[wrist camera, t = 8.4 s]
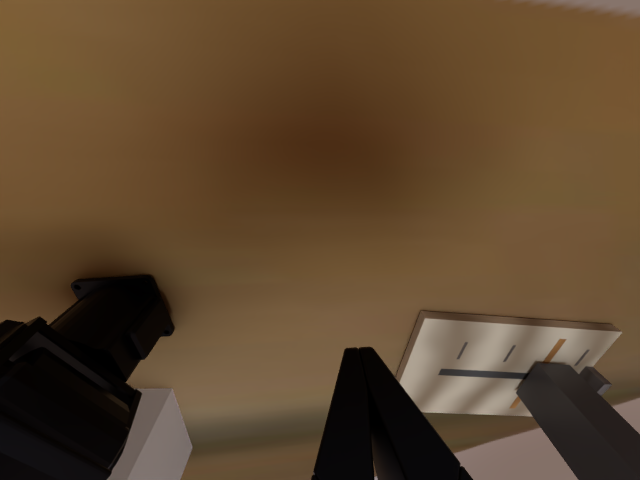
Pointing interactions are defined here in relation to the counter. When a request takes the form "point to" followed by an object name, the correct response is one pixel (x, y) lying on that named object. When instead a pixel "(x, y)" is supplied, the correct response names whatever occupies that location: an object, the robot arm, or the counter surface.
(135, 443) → the milk
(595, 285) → the counter surface
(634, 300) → the counter surface
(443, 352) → the console panel
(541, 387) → the fader cap
